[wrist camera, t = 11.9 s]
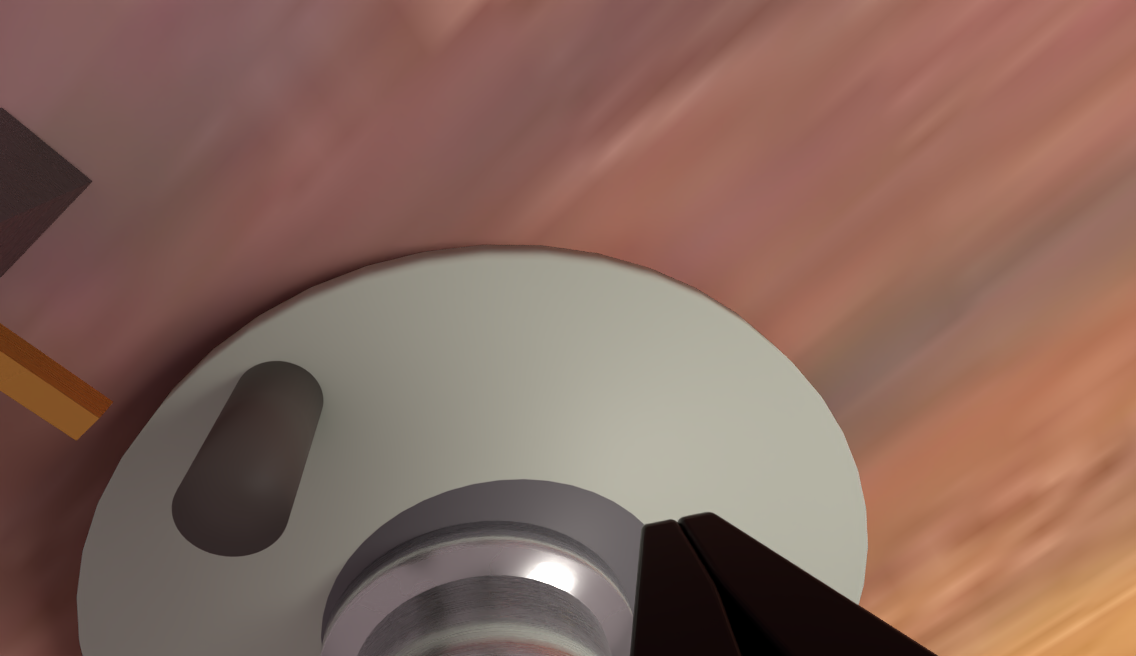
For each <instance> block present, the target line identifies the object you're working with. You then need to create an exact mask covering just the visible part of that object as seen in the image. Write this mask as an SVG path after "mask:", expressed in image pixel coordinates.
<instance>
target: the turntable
mask: <svg viewBox="0 0 1136 656" xmlns="http://www.w3.org/2000/svg"><path fill="white" fill-rule="evenodd" d="M703 512H712V513H715V514H717V515H718V516H720V517H721V518H723V519H724V520H726V521H728V522H729V523H731V524H732V525H734V526H735V527H737V528H738V529H740V530H742V531H743V532H745V533H746V534H748V535H749V536H751V537H753V538H754V539H756V540H757V541H759V542H760V543H762V544H764V545H765V546H767V547H768V548H770V549H771V550H773V551H775V552H776V553H778V554H779V555H781V556H782V557H784V558H786V559H787V560H789V561H790V562H792V563H793V564H795V565H796V566H798V567H800V568H801V569H803V570H804V571H806V572H807V573H809V574H811V575H812V576H814V577H815V578H817V579H818V580H820V581H822V582H823V583H825V584H826V585H828V586H829V587H831V588H833V589H834V590H836V591H837V592H839V593H840V594H842V595H843V596H845V597H847V598H848V599H850V600H851V601H853V602H854V603H856V604H858V605H859V601H860V597H861V593H862V589H863V585H864V578H865V568H866V559H867V550H868V540H867V519H866V506H865V501H864V497H863V492H862V487H861V483H860V478H859V473H858V469H857V467H856V464H855V462H854V459H853V457H852V454H851V452H850V449H849V446H848V444H847V441H846V439H845V436H844V434H843V432H842V430H841V428H840V427H839V425H838V423H837V422H836V420H835V418H834V417H833V415H832V413H831V412H830V410H829V408H828V407H827V405H826V403H825V402H824V400H823V399H822V397H821V396H820V394H819V393H818V392H817V391H816V390H815V389H814V387H813V386H812V385H811V384H810V383H809V382H808V380H807V379H806V378H805V377H804V376H803V375H802V373H801V372H800V371H799V370H798V369H797V367H796V366H795V365H794V364H793V363H792V362H791V361H790V360H789V359H788V358H787V357H786V356H785V355H784V354H783V353H782V352H781V351H780V350H778V349H777V348H776V347H775V346H774V345H773V344H772V343H771V342H770V341H769V340H768V339H766V338H765V337H764V336H763V335H762V334H761V333H759V332H758V331H757V330H756V329H755V328H753V327H752V326H751V325H750V324H749V323H748V322H746V321H745V320H744V319H743V318H742V317H741V316H739V315H738V314H737V313H735V312H734V311H732V310H731V309H729V308H727V307H726V306H724V305H723V304H721V303H719V302H718V301H716V300H714V299H713V298H711V297H710V296H708V295H706V294H705V293H703V292H702V291H700V290H698V289H697V288H695V287H692V286H690V285H688V284H685V283H683V282H681V281H679V280H676V279H674V278H672V277H669V276H667V275H665V274H663V273H660V272H658V271H656V270H653V269H651V268H648V267H645V266H641V265H638V264H634V263H630V262H627V261H623V260H620V259H616V258H613V257H609V256H605V255H602V254H598V253H592V252H585V251H578V250H571V249H563V248H556V247H549V246H542V245H478V246H469V247H461V248H452V249H443V250H434V251H426V252H421V253H417V254H413V255H409V256H405V257H401V258H397V259H393V260H389V261H384V262H380V263H376V264H372V265H368V266H365V267H362V268H360V269H357V270H355V271H352V272H349V273H347V274H344V275H342V276H339V277H336V278H334V279H331V280H329V281H326V282H323V283H321V284H318V285H316V286H313V287H310V288H309V289H307V290H305V291H303V292H301V293H299V294H298V295H296V296H294V297H292V298H290V299H288V300H286V301H285V302H283V303H281V304H279V305H277V306H275V307H274V308H272V309H270V310H268V311H266V312H264V313H263V314H261V315H259V316H258V317H256V318H255V319H253V320H252V321H251V322H249V323H248V324H247V325H245V326H244V327H243V328H241V329H240V330H238V331H237V332H236V333H234V334H233V335H232V336H230V337H229V338H228V339H226V340H225V341H223V342H222V343H221V344H219V345H218V346H217V347H215V348H214V349H213V350H212V351H211V352H210V353H209V354H208V355H207V356H206V357H205V358H204V359H202V360H201V361H200V362H199V363H198V364H197V365H196V366H195V367H194V368H193V369H192V370H191V371H190V372H189V373H188V374H187V375H186V376H185V377H184V378H183V379H182V380H181V381H180V382H179V383H178V384H177V385H176V386H175V387H174V388H173V389H172V391H171V392H170V393H169V395H168V396H167V397H166V399H165V400H164V401H163V403H162V404H161V405H160V407H159V408H158V409H157V411H156V412H155V413H154V415H153V416H152V417H151V419H150V420H149V421H148V423H147V424H146V425H145V427H144V428H143V429H142V431H141V432H140V433H139V435H138V436H137V438H136V439H135V440H134V442H133V443H132V444H131V446H130V447H129V448H128V450H127V451H126V453H125V454H124V455H123V457H122V458H121V460H120V462H119V464H118V466H117V468H116V470H115V471H114V473H113V475H112V477H111V479H110V481H109V483H108V485H107V487H106V489H105V491H104V493H103V494H102V496H101V498H100V500H99V502H98V504H97V507H96V510H95V514H94V517H93V520H92V523H91V526H90V529H89V532H88V535H87V539H86V542H85V545H84V548H83V552H82V559H81V567H80V575H79V583H78V590H77V612H78V630H79V643H80V647H81V651H82V655H83V656H320V655H321V649H322V644H323V639H324V633H325V629H326V626H327V623H328V620H329V617H330V615H331V612H332V610H333V608H334V607H335V605H336V603H337V601H338V599H339V598H340V596H341V595H342V593H343V592H344V591H345V589H346V588H347V587H348V585H349V584H350V583H351V582H352V581H353V580H354V579H355V578H356V577H357V576H358V575H359V574H360V573H361V572H362V571H363V569H364V568H366V567H367V566H368V565H369V564H371V563H372V562H373V561H375V560H376V559H377V558H378V557H380V556H381V555H382V554H384V553H386V552H387V551H389V550H391V549H392V548H394V547H396V546H397V545H399V544H401V543H403V542H405V541H407V540H410V539H412V538H414V537H416V536H418V535H421V534H424V533H427V532H430V531H433V530H436V529H439V528H443V527H447V526H452V525H456V524H461V523H469V522H478V521H512V522H521V523H528V524H533V525H537V526H541V527H546V528H549V529H552V530H554V531H557V532H560V533H562V534H565V535H567V536H569V537H571V538H573V539H575V540H577V541H579V542H581V543H582V544H584V545H585V546H587V547H588V548H589V549H591V550H592V551H594V552H595V553H596V554H597V555H598V556H599V557H600V558H601V559H603V560H604V561H605V562H606V563H607V564H608V565H609V567H610V568H611V569H612V571H613V572H614V573H615V575H616V576H617V577H618V579H619V581H620V583H621V585H622V587H623V589H624V590H625V593H626V596H627V599H628V602H629V605H630V608H631V611H632V614H634V603H635V592H636V581H637V570H638V559H639V548H640V537H641V529H642V527H643V526H644V525H645V524H648V523H653V522H658V521H663V520H668V519H673V520H675V521H677V522H678V520H679V519H680V518H681V517H683V516H688V515H693V514H698V513H703Z"/></svg>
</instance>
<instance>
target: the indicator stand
mask: <svg viewBox="0 0 1136 656" xmlns="http://www.w3.org/2000/svg"><path fill="white" fill-rule="evenodd" d="M91 182H92V181H91V180H90V179H89V178H88V177H86V176H85V175H84V174H83V173H82V172H80V171H79V170H78V169H77V168H75V167H74V166H73V165H72V164H70V163H69V162H68V161H67V160H66V159H64V158H63V157H62V156H61V155H59V154H58V153H57V152H56V151H55V150H53V149H52V148H51V147H50V146H48V145H47V144H46V143H45V142H43V141H42V140H41V139H40V138H39V137H37V136H36V135H35V134H34V133H32V132H31V131H30V130H29V129H28V128H26V127H25V126H24V125H23V124H21V123H20V122H19V121H18V120H16V119H15V118H14V117H13V116H12V115H10V114H9V113H8V112H7V111H5V110H4V109H3V108H0V277H2V276H3V275H4V273H5V272H6V271H7V270H8V269H9V268H10V267H11V266H12V265H13V264H14V263H15V262H16V261H17V260H18V259H19V258H20V257H21V256H22V255H23V254H24V253H25V251H26V250H27V249H28V248H29V247H30V246H31V245H32V244H33V243H34V242H35V241H36V240H37V239H38V238H39V237H40V236H41V235H42V234H43V233H44V232H45V230H46V229H47V228H48V227H49V226H50V225H51V224H52V223H53V222H54V221H55V220H56V219H57V218H58V217H59V216H60V215H61V214H62V213H63V212H64V211H65V210H66V208H67V207H68V206H69V205H70V204H71V203H72V202H73V201H74V200H75V199H76V198H77V197H78V196H79V195H80V194H81V193H82V192H83V191H84V190H85V189H86V188H87V186H88V185H89V184H90V183H91ZM0 391H2V392H3V393H5V394H6V395H8V396H9V397H11V398H12V399H14V400H15V401H17V402H18V403H20V404H21V405H23V406H24V407H26V408H27V409H29V410H30V411H32V412H33V413H35V414H36V415H38V416H40V417H41V418H43V419H44V420H46V421H47V422H49V423H50V424H52V425H53V426H55V427H56V428H58V429H59V430H61V431H62V432H64V433H65V434H67V435H68V436H70V437H71V438H73V439H74V440H76V441H77V440H78V439H79V438H80V437H81V436H82V435H83V434H84V433H85V432H86V431H87V430H88V429H89V428H90V427H91V426H92V425H93V424H94V423H95V422H96V421H97V420H98V419H99V418H100V417H101V416H102V415H103V413H104V412H105V411H106V410H107V409H108V408H109V407H110V405H111V404H112V403H113V401H111V400H110V399H108V398H107V397H105V396H104V395H103V394H101V393H100V392H98V391H97V390H95V389H94V388H93V387H91V386H90V385H88V384H87V383H85V382H84V381H82V380H81V379H80V378H78V377H77V376H75V375H74V374H72V373H71V372H70V371H68V370H67V369H65V368H64V367H62V366H61V365H59V364H58V363H57V362H55V361H54V360H52V359H51V358H49V357H48V356H46V355H45V354H44V353H42V352H41V351H39V350H38V349H36V348H35V347H34V346H32V345H31V344H29V343H28V342H26V341H25V340H23V339H22V338H21V337H19V336H18V335H16V334H15V333H13V332H12V331H11V330H9V329H8V328H6V327H5V326H3V325H2V324H0Z"/></svg>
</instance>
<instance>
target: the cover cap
mask: <svg viewBox="0 0 1136 656" xmlns="http://www.w3.org/2000/svg"><path fill="white" fill-rule="evenodd" d="M632 625H633V614H632V611H631V608H630V605H629V602H628V599H627V596H626V593H625V590H624V589H623V587H622V585H621V583H620V581H619V579H618V577H617V576H616V575H615V573H614V572H613V571H612V569H611V568H610V567H609V565H608V564H607V563H606V562H605V561H604V560H603V559H601V558H600V557H599V556H598V555H597V554H596V553H595V552H594V551H592V550H591V549H589V548H588V547H587V546H585V545H584V544H582V543H581V542H579V541H577V540H575V539H573V538H571V537H569V536H567V535H565V534H562V533H560V532H557V531H554V530H552V529H549V528H546V527H541V526H537V525H533V524H528V523H521V522H512V521H478V522H469V523H461V524H456V525H452V526H447V527H443V528H439V529H436V530H433V531H430V532H427V533H424V534H421V535H418V536H416V537H414V538H412V539H410V540H407V541H405V542H403V543H401V544H399V545H397V546H396V547H394V548H392V549H391V550H389V551H387V552H386V553H384V554H382V555H381V556H380V557H378V558H377V559H376V560H375V561H373V562H372V563H371V564H369V565H368V566H367V567H366V568H364V569H363V571H362V572H361V573H360V574H359V575H358V576H357V577H356V578H355V579H354V580H353V581H352V582H351V583H350V584H349V585H348V587H347V588H346V589H345V591H344V592H343V593H342V595H341V596H340V598H339V599H338V601H337V603H336V605H335V607H334V608H333V610H332V612H331V615H330V617H329V620H328V623H327V626H326V629H325V633H324V639H323V644H322V649H321V655H320V656H630V646H631V635H632Z"/></svg>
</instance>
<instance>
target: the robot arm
mask: <svg viewBox="0 0 1136 656" xmlns="http://www.w3.org/2000/svg"><path fill="white" fill-rule="evenodd" d="M630 656H938V655H936V654H934V653H933V652H931V651H930V650H928V649H927V648H925V647H923V646H922V645H920V644H919V643H917V642H916V641H914V640H912V639H911V638H909V637H908V636H906V635H905V634H903V633H901V632H900V631H898V630H897V629H895V628H894V627H892V626H890V625H889V624H887V623H886V622H884V621H883V620H881V619H880V618H878V617H876V616H875V615H873V614H872V613H870V612H869V611H867V610H865V609H864V608H862V607H861V606H859V605H858V604H856V603H854V602H853V601H851V600H850V599H848V598H847V597H845V596H843V595H842V594H840V593H839V592H837V591H836V590H834V589H833V588H831V587H829V586H828V585H826V584H825V583H823V582H822V581H820V580H818V579H817V578H815V577H814V576H812V575H811V574H809V573H807V572H806V571H804V570H803V569H801V568H800V567H798V566H796V565H795V564H793V563H792V562H790V561H789V560H787V559H786V558H784V557H782V556H781V555H779V554H778V553H776V552H775V551H773V550H771V549H770V548H768V547H767V546H765V545H764V544H762V543H760V542H759V541H757V540H756V539H754V538H753V537H751V536H749V535H748V534H746V533H745V532H743V531H742V530H740V529H738V528H737V527H735V526H734V525H732V524H731V523H729V522H728V521H726V520H724V519H723V518H721V517H720V516H718V515H717V514H715V513H712V512H703V513H698V514H693V515H688V516H683V517H681V518H680V519H679V520H678V522H677V521H675V520H673V519H668V520H663V521H658V522H653V523H648V524H645V525H644V526H643V527H642V529H641V537H640V548H639V559H638V570H637V581H636V592H635V603H634V614H633V625H632V635H631V646H630Z"/></svg>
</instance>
